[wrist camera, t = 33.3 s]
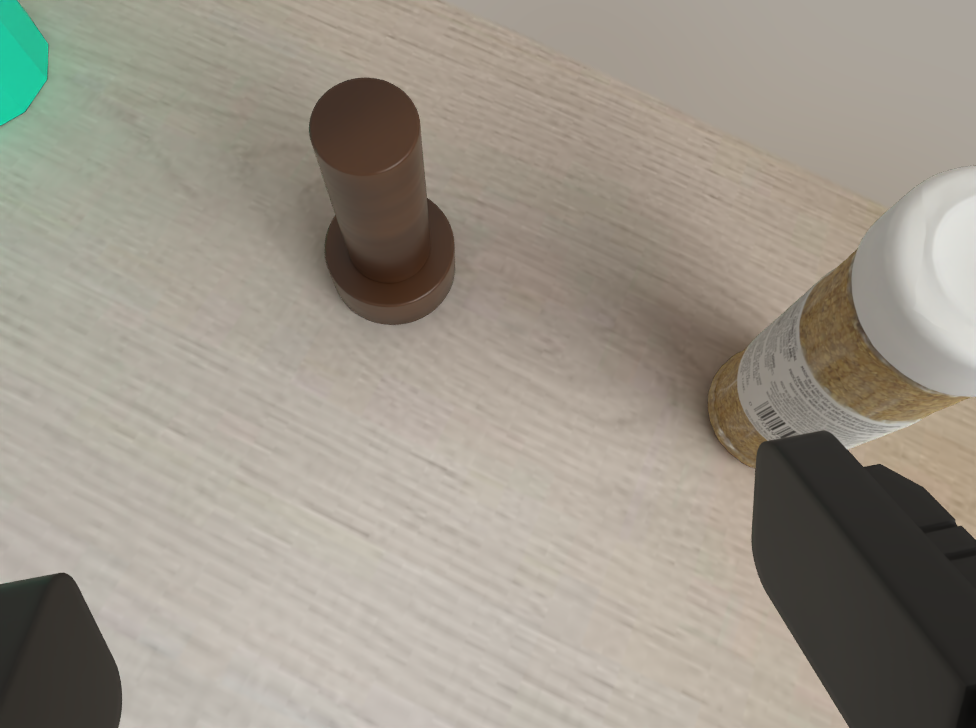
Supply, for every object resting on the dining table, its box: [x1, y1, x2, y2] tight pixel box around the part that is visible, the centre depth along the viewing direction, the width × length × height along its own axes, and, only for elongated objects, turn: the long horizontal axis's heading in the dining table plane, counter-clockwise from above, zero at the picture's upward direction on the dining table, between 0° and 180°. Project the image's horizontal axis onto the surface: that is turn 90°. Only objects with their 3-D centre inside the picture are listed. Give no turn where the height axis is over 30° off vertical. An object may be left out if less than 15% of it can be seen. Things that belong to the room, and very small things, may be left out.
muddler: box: [309, 78, 455, 325], centre depth 26 cm, size 4×4×10 cm
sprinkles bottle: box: [708, 165, 976, 469], centre depth 23 cm, size 5×5×14 cm
